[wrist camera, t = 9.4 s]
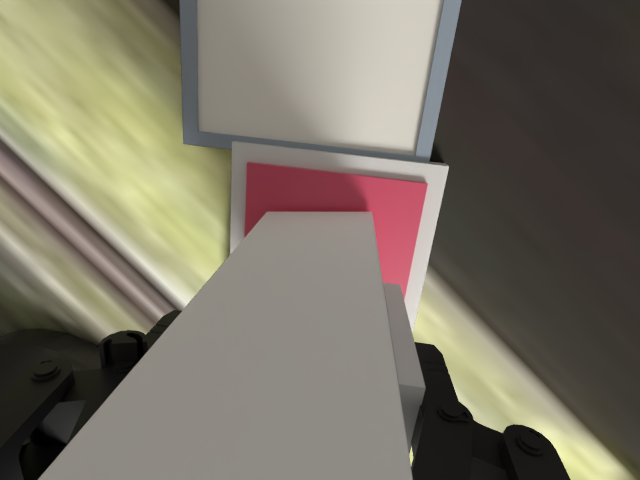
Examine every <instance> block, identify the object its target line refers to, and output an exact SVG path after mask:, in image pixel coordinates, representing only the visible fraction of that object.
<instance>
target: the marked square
mask: <svg viewBox="0 0 640 480" xmlns="http://www.w3.org/2000/svg"><path fill="white" fill-rule="evenodd" d="M460 5H461V0H180V34H181V70H182V107H183V144H187V145H195V146H204V147H213V148H221V149H230V150H232V142H233V141H238V142H247V143H256V144H265V145H273V146H282V147H291V148H300V149H308V150H317V151H326V152H335V153H344V154H352V155H361V156H370V157H379V158H387V159H396V160H405V161H414V162H423V163H429V161H430V156H431V151H432V146H433V141H434V136H435V131H436V126H437V121H438V116H439V111H440V106H441V101H442V96H443V91H444V86H445V80H446V75H447V70H448V65H449V60H450V55H451V50H452V45H453V40H454V35H455V30H456V25H457V20H458V15H459V10H460Z"/></svg>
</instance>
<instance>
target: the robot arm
mask: <svg viewBox="0 0 640 480" xmlns="http://www.w3.org/2000/svg"><path fill="white" fill-rule="evenodd" d="M383 286H384V293H385V300H386V306H387V313H388V319H389V326H390V333H391V339H392V346H393V352H394V359H395V366H396V372H397V379H398V385H399V392H400V399H401V405H402V412H403V418H404V425H405V432H406V438H407V445H408V451H409V453H410V449H411V445H412V451H413V457H414V458H413V462H412V466H411V471H412V478H413V480H570V478H569V476H568V474H567V472H566V469H565V467H564V465H563V463H562V461H561V459H560V457H559V455H558V453H557V451H556V449H555V448H554V446H553V445H552V444H551V442H550V441H549V440H548V439H547V438H546V437H544V436H543V435H542V434H541V433H539V432H537V431H536V430H534V429H532V428H529V427H526V426H523V425H514V424H513V425H510V426H508V427H506V429H505V431H504V432H503V433H500V432H498V431H495V430H493V429H490V428H488V427H485V426H483V425H481V424H479V423H477V422H476V421H474V420H473V416H472V414H471V413H470V411H469V410H468V409H467V408H466V407H465V406H464V405H463V404H461V403H460V402H459V401H458V398H457V395H456V393H455V390H454V387H453V384H452V381H451V378H450V375H449V374H448V369H447V367H446V366H445V365H446V364H445V361H444V358H443V355H442V353H441V352H440V351H439V350H438V349H437V348H436V347H435V346H434V345H431V344H424V343H417V342H414V338H413V334H412V330H411V326H410V322H409V318H408V314H407V310H406V306H405V302H404V298H403V294H402V290H401V286H400V285H399V284H391V283H384V282H383ZM181 312H182V311H179V310H174V311H172V312H170V313H168V314H166V315H165V316H163V317H162V318H161V319H160V320H159V321H158V322H157V324H156V326H154V327H153V328H152V329H151V330H150V332H148V333H147V334H146V335H145V334H144V333H142V332H139V331H131V330H127V331H120V332H117V333H114V334H111V335H109V336H107V337H106V338H104V339H103V340H102V341H101V342H100V343H99V348H98V347H96V346H94V345H92V344H90V343H88V342H86V341H84V340H82V339H80V338H77V337H74V336H71V335H68V334H65V333H61V332H56V331H51V330H41V329H30V330H21V331H16V332H13V333H10V334H7V335H5V336H3V337H1V338H0V480H38V479H39V478H40V477H41V475H42V474H43V473H44V472H45V471H46V470H47V468H48V467H49V466H50V465H51V464H52V463H53V461H54V460H55V459H56V458H57V457H58V455H59V454H60V453H61V452H62V451H63V450H64V448H65V447H66V446H67V445H68V444H69V443H70V441H71V440H72V439H73V438H74V437H75V436H76V434H77V433H78V432H79V431H80V430H81V429H82V427H83V426H84V425H85V424H86V423H87V422H88V420H89V419H90V418H91V417H92V416H93V415H94V413H95V412H96V411H97V410H98V409H99V408H100V406H101V405H102V404H103V403H104V402H105V401H106V399H107V398H108V397H109V396H110V395H111V394H112V392H113V391H114V390H115V389H116V388H117V387H118V385H119V384H120V383H121V382H122V381H123V379H124V378H125V377H126V376H127V375H128V374H129V372H130V371H131V370H132V369H133V368H134V367H135V365H136V364H137V363H138V362H139V361H140V360H141V358H142V357H143V356H144V355H145V354H146V353H147V351H148V350H149V349H150V348H151V347H152V346H153V344H154V343H155V342H156V341H157V340H158V339H159V337H160V336H161V335H162V334H163V333H164V332H165V330H166V329H167V328H168V327H169V326H170V325H171V323H172V322H173V321H174V320H175V319H176V318H177V316H178V315H179V314H180V313H181Z"/></svg>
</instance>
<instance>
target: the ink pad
mask: <svg viewBox="0 0 640 480" xmlns="http://www.w3.org/2000/svg"><path fill="white" fill-rule="evenodd" d="M448 169H449V166H448V165H446V164H445V163H438V162H429V163H423V162H414V161H405V160H396V159H387V158H379V157H370V156H361V155H352V154H344V153H335V152H326V151H317V150H308V149H300V148H291V147H282V146H273V145H265V144H256V143H247V142H238V141H233V142H232V169H231V229H230V254H231V253H232V252H233V251H234V250H235V249H236V247H237V246H238V245H239V244H240V243H241V242H242V240H243V239H244V238H245V237H246V236H247V234H248V233H249V232H250V231H251V230H252V229H253V227H254V226H255V225H256V224H257V223H258V222H259V220H260V219H261V218H262V217H263V216H264V215H265V213H266V212H372V214H373V220H374V227H375V234H376V240H377V247H378V253H379V260H380V267H381V273H382V280H383V282H384V283H391V284H399V285H400V286H401V290H402V294H403V298H404V302H405V306H406V310H407V314H408V318H409V322H410V326H411V330H412V334H413V329H414V325H415V320H416V315H417V311H418V306H419V302H420V297H421V292H422V288H423V283H424V279H425V274H426V270H427V265H428V260H429V256H430V251H431V247H432V242H433V237H434V233H435V228H436V224H437V219H438V215H439V210H440V205H441V201H442V196H443V192H444V187H445V182H446V178H447V173H448Z"/></svg>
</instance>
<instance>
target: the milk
mask: <svg viewBox="0 0 640 480" xmlns="http://www.w3.org/2000/svg"><path fill="white" fill-rule="evenodd" d="M38 480H413V478H412V471H411V465H410V458H409V451H408V445H407V438H406V432H405V425H404V418H403V412H402V405H401V399H400V392H399V385H398V379H397V372H396V366H395V359H394V352H393V346H392V339H391V333H390V326H389V319H388V313H387V306H386V300H385V293H384V286H383V280H382V273H381V267H380V260H379V253H378V247H377V240H376V234H375V227H374V220H373V214H372V212H266V213H265V215H264V216H263V217H262V218H261V219H260V220H259V222H258V223H257V224H256V225H255V226H254V227H253V229H252V230H251V231H250V232H249V233H248V234H247V236H246V237H245V238H244V239H243V240H242V242H241V243H240V244H239V245H238V246H237V247H236V249H235V250H234V251H233V252H232V253H231V254H230V256H229V257H228V258H227V259H226V260H225V261H224V263H223V264H222V265H221V266H220V267H219V268H218V270H217V271H216V272H215V273H214V274H213V275H212V277H211V278H210V279H209V280H208V281H207V282H206V284H205V285H204V286H203V287H202V288H201V289H200V291H199V292H198V293H197V294H196V295H195V296H194V298H193V299H192V300H191V301H190V302H189V303H188V305H187V306H186V307H185V308H184V309H183V311H182V312H181V313H180V314H179V315H178V316H177V318H176V319H175V320H174V321H173V322H172V323H171V325H170V326H169V327H168V328H167V329H166V330H165V332H164V333H163V334H162V335H161V336H160V337H159V339H158V340H157V341H156V342H155V343H154V344H153V346H152V347H151V348H150V349H149V350H148V351H147V353H146V354H145V355H144V356H143V357H142V358H141V360H140V361H139V362H138V363H137V364H136V365H135V367H134V368H133V369H132V370H131V371H130V372H129V374H128V375H127V376H126V377H125V378H124V379H123V381H122V382H121V383H120V384H119V385H118V387H117V388H116V389H115V390H114V391H113V392H112V394H111V395H110V396H109V397H108V398H107V399H106V401H105V402H104V403H103V404H102V405H101V406H100V408H99V409H98V410H97V411H96V412H95V413H94V415H93V416H92V417H91V418H90V419H89V420H88V422H87V423H86V424H85V425H84V426H83V427H82V429H81V430H80V431H79V432H78V433H77V434H76V436H75V437H74V438H73V439H72V440H71V441H70V443H69V444H68V445H67V446H66V447H65V448H64V450H63V451H62V452H61V453H60V454H59V455H58V457H57V458H56V459H55V460H54V461H53V463H52V464H51V465H50V466H49V467H48V468H47V470H46V471H45V472H44V473H43V474H42V475H41V477H40V478H39V479H38Z"/></svg>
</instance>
